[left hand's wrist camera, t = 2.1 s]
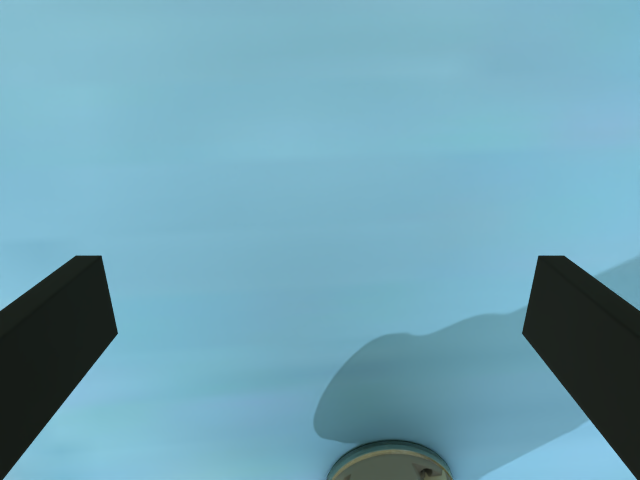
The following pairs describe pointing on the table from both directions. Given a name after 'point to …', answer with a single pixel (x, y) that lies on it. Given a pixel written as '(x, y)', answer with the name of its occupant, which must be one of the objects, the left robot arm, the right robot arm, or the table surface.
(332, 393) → the table surface
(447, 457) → the table surface
